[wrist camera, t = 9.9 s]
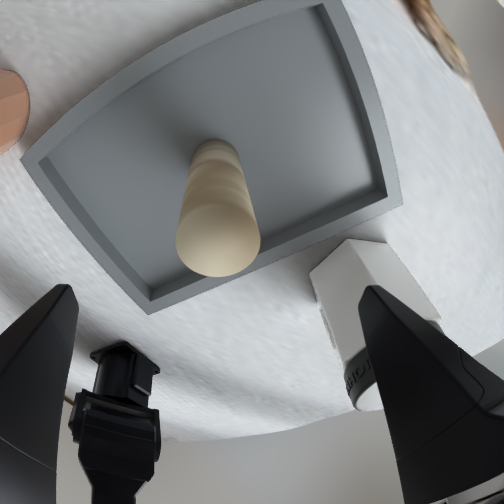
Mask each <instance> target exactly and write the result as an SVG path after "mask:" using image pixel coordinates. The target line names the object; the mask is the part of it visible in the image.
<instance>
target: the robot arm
mask: <svg viewBox="0 0 504 504" xmlns="http://www.w3.org/2000/svg"><path fill="white" fill-rule="evenodd" d="M78 313H79V306H78V302H77V300H76V297H75V295H74V292H73V290H72V287H71V286H70V285H68V284H58V285H56V286H55V287H54V288H52V289H51V290H50V291H49V292H48V293H46V294H45V295H44V296H43V297H42V298H41V299H39V300H38V301H37V302H36V303H35V304H34V305H32V306H31V307H30V308H29V309H28V310H27V311H26V312H25V313H23V314H22V315H21V316H20V317H19V318H18V319H17V320H16V321H15V322H14V323H12V324H11V325H10V326H9V327H8V328H7V329H6V330H5V331H4V332H3V333H2V334H1V335H0V504H56V469H57V468H56V467H57V452H58V440H59V430H60V422H61V414H62V407H63V401H64V395H65V389H66V383H67V378H68V373H69V368H70V363H71V359H72V353H73V346H74V339H75V331H76V325H77V319H78ZM358 313H359V317H360V322H361V326H362V331H363V336H364V340H365V345H366V349H367V353H368V357H369V360H370V363H371V366H372V370H373V373H374V376H375V380H376V383H377V387H378V390H379V394H380V397H381V401H382V404H383V408H384V412H385V415H386V419H387V423H388V427H389V431H390V435H391V439H392V444H393V448H394V452H395V457H396V462H397V467H398V472H399V476H400V481H401V487H402V492H403V497H404V502H405V504H430V503H433V502H436V501H439V500H442V499H445V500H444V501H442V502H440V503H439V504H504V380H502V379H501V378H499V377H498V376H497V375H495V374H494V373H493V372H491V371H490V370H488V369H487V368H486V367H484V366H483V365H482V364H480V363H479V362H477V361H476V360H475V359H474V358H473V357H471V356H470V355H469V354H468V353H466V352H465V351H464V350H463V349H462V348H460V347H458V345H457V344H455V343H454V342H453V341H452V340H450V339H449V338H448V337H447V336H445V335H444V334H443V333H442V332H440V331H439V330H438V329H437V328H435V327H434V326H433V325H431V324H430V323H429V322H428V321H426V320H425V319H424V318H422V317H421V316H420V315H419V314H417V313H416V312H415V311H413V310H412V309H411V308H409V307H408V306H407V305H405V304H404V303H403V302H402V301H400V300H399V299H398V298H396V297H395V296H394V295H392V294H391V293H389V292H388V291H387V290H385V289H384V288H383V287H381V286H380V285H368V286H367V287H366V288H365V290H364V292H363V294H362V297H361V299H360V301H359V304H358ZM90 358H91V359H92V360H93V361H95V362H96V363H97V364H98V369H97V373H96V378H95V383H94V387H93V392H90V391H87V390H86V389H82V392H79V393H76V395H75V400H74V404H73V408H72V412H71V416H70V419H69V423H68V426H69V428H70V430H71V431H72V436H73V442H74V443H78V444H79V450H78V457H79V463H80V465H81V467H82V469H83V471H84V473H85V475H86V477H87V479H88V481H89V483H90V485H91V488H92V489H91V504H136V495H137V494H138V493H139V492H140V490H141V489H142V488H143V487H144V485H145V484H146V483H147V482H149V481H150V480H151V478H152V476H153V475H154V462H157V461H158V459H159V456H160V450H161V432H160V419H159V410H158V409H150V408H148V398H149V396H150V395H151V388H152V377H153V375H155V374H159V373H160V368H159V367H157V366H156V365H155V364H153V363H152V362H151V361H150V360H148V359H147V358H146V357H144V356H143V355H142V354H141V353H139V352H138V351H137V350H136V349H134V348H133V347H132V346H131V345H130V344H128V343H127V342H121V343H118V344H116V345H113V346H110V347H107V348H104V349H101V350H99V351H96V352H93V353H91V354H90Z"/></svg>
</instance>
